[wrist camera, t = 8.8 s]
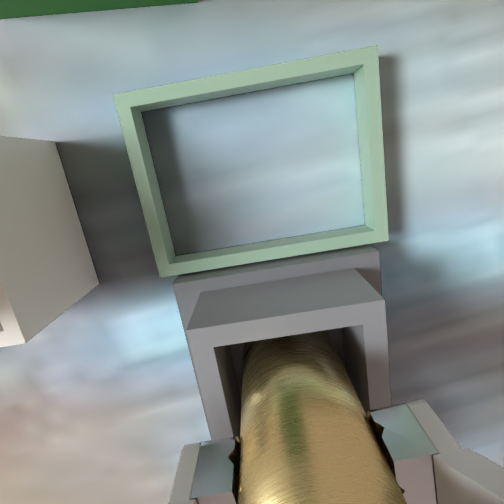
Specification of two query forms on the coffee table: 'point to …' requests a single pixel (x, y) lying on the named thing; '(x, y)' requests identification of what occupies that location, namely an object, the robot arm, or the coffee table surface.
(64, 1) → the hardback book
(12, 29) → the coffee table surface
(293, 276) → the grey socket holder
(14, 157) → the white square bin
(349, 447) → the cell
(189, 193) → the coffee table surface
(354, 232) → the pale green rectangular frame
